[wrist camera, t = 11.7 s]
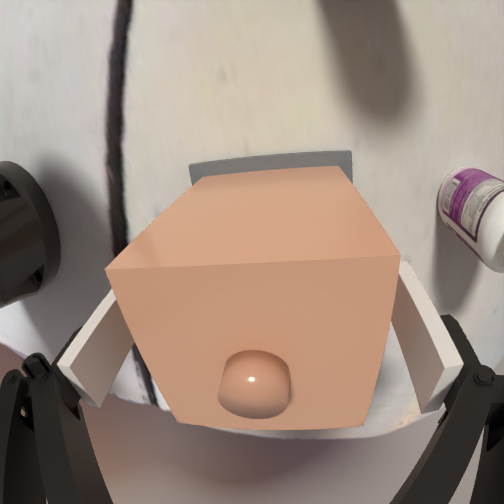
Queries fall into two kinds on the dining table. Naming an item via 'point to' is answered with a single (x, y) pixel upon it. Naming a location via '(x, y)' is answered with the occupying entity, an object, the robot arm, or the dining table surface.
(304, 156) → the slate mat
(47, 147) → the dining table surface
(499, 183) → the pill bottle
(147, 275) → the peach knob cube
